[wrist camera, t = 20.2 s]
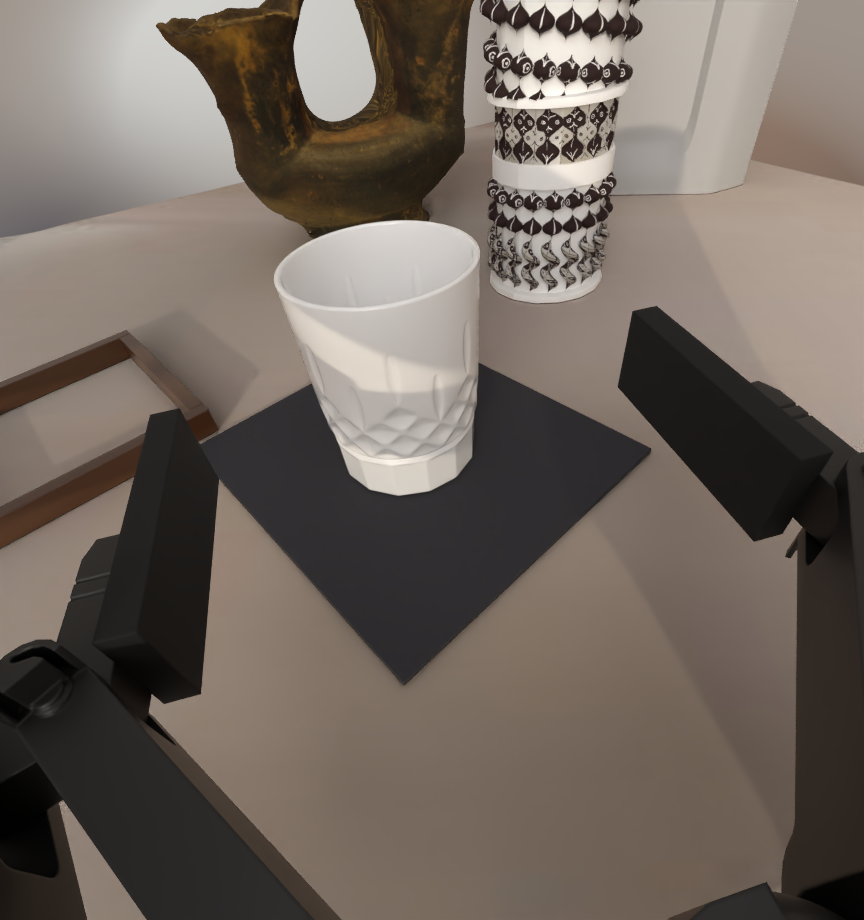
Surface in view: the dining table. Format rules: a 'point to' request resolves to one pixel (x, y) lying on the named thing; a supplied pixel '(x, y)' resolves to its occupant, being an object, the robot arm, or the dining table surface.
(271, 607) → the dining table surface
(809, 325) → the dining table surface
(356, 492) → the mat
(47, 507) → the wooden frame
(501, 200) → the decorative candle
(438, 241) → the white cup
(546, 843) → the dining table surface
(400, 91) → the pottery vessel
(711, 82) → the white triangular vase
